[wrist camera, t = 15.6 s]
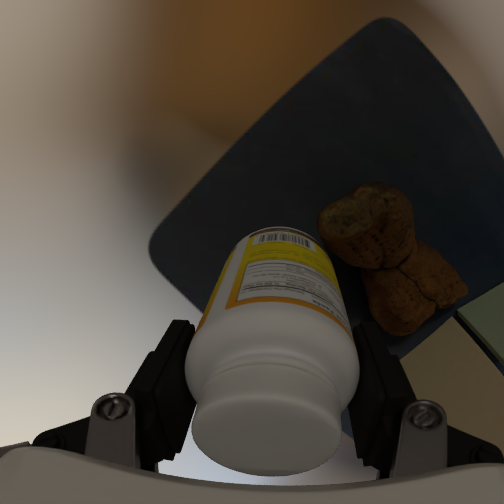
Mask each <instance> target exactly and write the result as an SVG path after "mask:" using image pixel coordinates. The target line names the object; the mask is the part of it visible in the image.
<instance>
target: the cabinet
mask: <svg viewBox="0 0 504 504" xmlns="http://www.w3.org/2000/svg"><path fill="white" fill-rule="evenodd" d="M400 362H401V364H402V367H403V369H404V371H405V373H406V375H407V378H408V380H409V382H410V384H411V386H412V389H413V391H414V393H415V396H416V398H417V400H422V399H426V400H430V401H433V402H436V403H438V404H439V405H440V406H441V407H443V409H444V410H445V412H446V416H447V425H450V426H452V427H454V428H456V429H459V430H461V431H463V432H466V433H468V434H470V435H473V436H475V437H478V438H480V439H482V440H485V441H487V442H490V443H492V444H494V445H496V446H497V447H498V448H499V449H500V450H501V452H502V454H503V457H504V376H503V375H502V374H501V372H500V371H499V370H498V369H497V368H496V366H495V365H494V364H493V363H492V361H491V360H490V359H489V358H488V357H487V355H486V354H485V353H484V352H483V351H482V350H481V348H480V347H479V346H478V345H477V344H476V343H475V341H474V340H473V339H472V338H471V337H470V336H469V335H468V333H467V332H466V331H465V330H464V329H463V328H462V327H461V326H460V325H459V323H458V322H457V321H456V320H455V319H454V318H453V317H452V316H451V317H450V318H449V319H448V320H447V321H446V322H445V323H444V324H443V325H441V326H440V327H439V328H438V329H437V330H436V331H435V332H433V333H432V334H431V335H430V336H429V337H428V338H426V339H425V340H424V341H423V342H422V343H420V344H419V345H418V346H417V347H416V348H414V349H413V350H412V351H411V352H409V353H408V354H407V355H406V356H404V357H403V358H402V359H401V360H400Z"/></svg>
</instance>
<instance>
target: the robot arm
mask: <svg viewBox="0 0 504 504" xmlns="http://www.w3.org/2000/svg"><path fill="white" fill-rule="evenodd" d="M194 334H195V327H194V325H193V324H190V322H189V321H188V320H173V321H172V322H171V324H170V326H169V327H168V329H167V331H166V332H165V334H164V336H163V337H162V339H161V341H160V342H159V344H158V346H157V348H156V349H155V351H151V352H150V353H149V354H148V355H147V357H146V358H145V360H144V362H143V363H142V365H141V367H140V368H139V370H138V372H137V373H136V375H135V377H134V378H133V380H132V382H131V384H130V385H129V387H128V388H127V390H126V392H125V393H124V394H123V393H109V394H106V395H104V396H102V397H100V398H99V399H97V400H96V401H95V403H94V404H93V407H92V410H91V416H89V417H86V418H84V419H81V420H78V421H75V422H72V423H69V424H66V425H63V426H60V427H57V428H54V429H50V430H47V431H45V432H42V433H41V434H39V435H38V436H37V437H36V438H35V439H34V441H33V443H32V444H30V443H29V442H28V441H27V442H23V443H18V444H14V445H9V446H5V447H0V504H504V457H503V454H502V452H501V450H500V449H499V448H498V447H497V446H496V445H494V444H492V443H490V442H487V441H485V440H482V439H480V438H478V437H475V436H473V435H470V434H468V433H466V432H463V431H461V430H459V429H456V428H454V427H452V426H450V425H447V416H446V412H445V410H444V409H443V407H441V406H440V405H439V404H438V403H436V402H433V401H430V400H426V399H422V400H417V398H416V396H415V393H414V391H413V389H412V386H411V384H410V382H409V380H408V378H407V375H406V373H405V371H404V369H403V367H402V364H401V362H400V360H399V358H398V357H397V355H390V353H389V351H388V349H387V346H386V344H385V342H384V340H383V338H382V335H381V333H380V331H379V329H378V327H377V325H376V323H375V322H360V323H359V325H358V326H354V328H353V334H352V335H353V339H354V343H355V346H356V350H357V354H358V360H359V367H360V375H359V382H358V386H357V389H356V392H355V394H354V396H353V398H352V400H351V401H350V403H349V404H348V410H349V415H350V420H351V426H352V431H353V437H354V442H355V448H356V453H357V458H358V459H359V458H362V459H363V465H364V466H373V467H374V468H376V469H378V473H377V477H376V480H373V481H365V482H355V483H344V484H330V485H306V486H271V485H269V486H268V485H249V484H234V483H223V482H214V481H205V480H198V479H190V478H184V477H178V476H172V475H166V474H161V473H159V470H158V462H160V461H162V460H163V459H165V460H171V461H173V460H174V456H175V454H176V453H180V452H181V450H182V447H183V444H184V441H185V438H186V435H187V431H188V428H189V425H190V422H191V419H192V416H193V413H194V410H195V407H196V404H197V402H196V401H195V399H194V398H193V396H192V394H191V393H190V390H189V388H188V385H187V382H186V377H185V360H186V356H187V352H188V349H189V346H190V343H191V341H192V339H193V336H194Z"/></svg>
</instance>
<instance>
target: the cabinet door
mask: <svg viewBox="0 0 504 504" xmlns="http://www.w3.org/2000/svg"><path fill="white" fill-rule="evenodd" d="M457 313H458V316H459V317H460V318H461V319H462V320H463V321H464V322H465V323H466V324H467V325H468V326H469V328H470V329H471V330H472V331H473V332H474V333H475V334H476V335H477V336H478V337H479V338H480V340H481V341H482V342H483V343H484V344H485V345H486V346H487V347H488V349H489V350H490V351H491V352H492V353H493V354H494V355H495V357H496V358H497V359H498V360H499V361H500V362H501V364H502V365H503V366H504V282H503V283H501V284H500V285H498V286H496V287H495V288H493V289H492V290H490V291H488V292H487V293H485V294H483V295H482V296H480V297H478V298H476V299H475V300H473V301H471V302H469V303H468V304H466V305H464V306H462V307H461V308H459V309H457Z"/></svg>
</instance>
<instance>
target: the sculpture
mask: <svg viewBox="0 0 504 504" xmlns="http://www.w3.org/2000/svg"><path fill="white" fill-rule="evenodd" d="M413 222H414V216H413V208H412V204H411V202H410V201H409V199H408V198H407V197H406V196H405V195H404V193H403V192H402V191H401V190H399V189H398V188H397V187H395V186H389V185H387V184H384V183H383V182H371V183H364V184H362V185H359V186H357V187H356V188H354V189H353V190H351V191H350V192H349V193H348V194H347V195H346V196H345V197H343V198H341V199H339V200H337V201H335V202H333V203H330V204H328V205H326V206H325V207H324V208H323V209H322V210H321V211H320V212H319V214H318V219H317V230H318V232H319V234H320V238H321V239H322V241H323V242H324V244H325V245H326V247H327V248H328V249H329V250H330V251H331V252H333V253H335V254H336V255H337V256H338V257H340V258H341V259H342V260H343V261H344V262H346V263H347V264H349V265H351V266H354V267H361V268H360V270H361V276H362V280H363V284H364V288H365V292H366V295H367V299H368V306H369V310H370V313H371V315H372V317H373V318H374V319H375V320H376V321H377V322H378V324H379V325H380V326H381V327H382V329H384V330H385V331H387V332H389V333H390V334H392V335H398V336H406V335H407V334H412V333H413V332H414V331H415V330H417V329H418V328H419V327H420V325H421V324H422V323H423V322H424V321H425V320H426V319H428V318H429V317H430V316H431V315H432V314H434V313H435V307H436V308H439V309H440V308H441V309H444V308H448V307H450V305H452V304H453V303H454V302H456V301H457V300H458V299H459V298H462V297H464V296H466V295H467V293H468V288H467V286H466V284H465V283H464V282H463V281H462V280H461V279H460V277H459V275H458V273H457V272H456V270H455V269H454V268H453V267H452V266H451V265H450V264H449V263H448V262H447V261H445V260H444V259H443V257H442V256H441V254H440V253H439V252H438V251H437V250H435V249H434V248H432V247H431V246H430V245H428V244H427V243H425V242H423V241H421V240H420V239H418V238H416V237H415V228H414V224H413Z"/></svg>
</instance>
